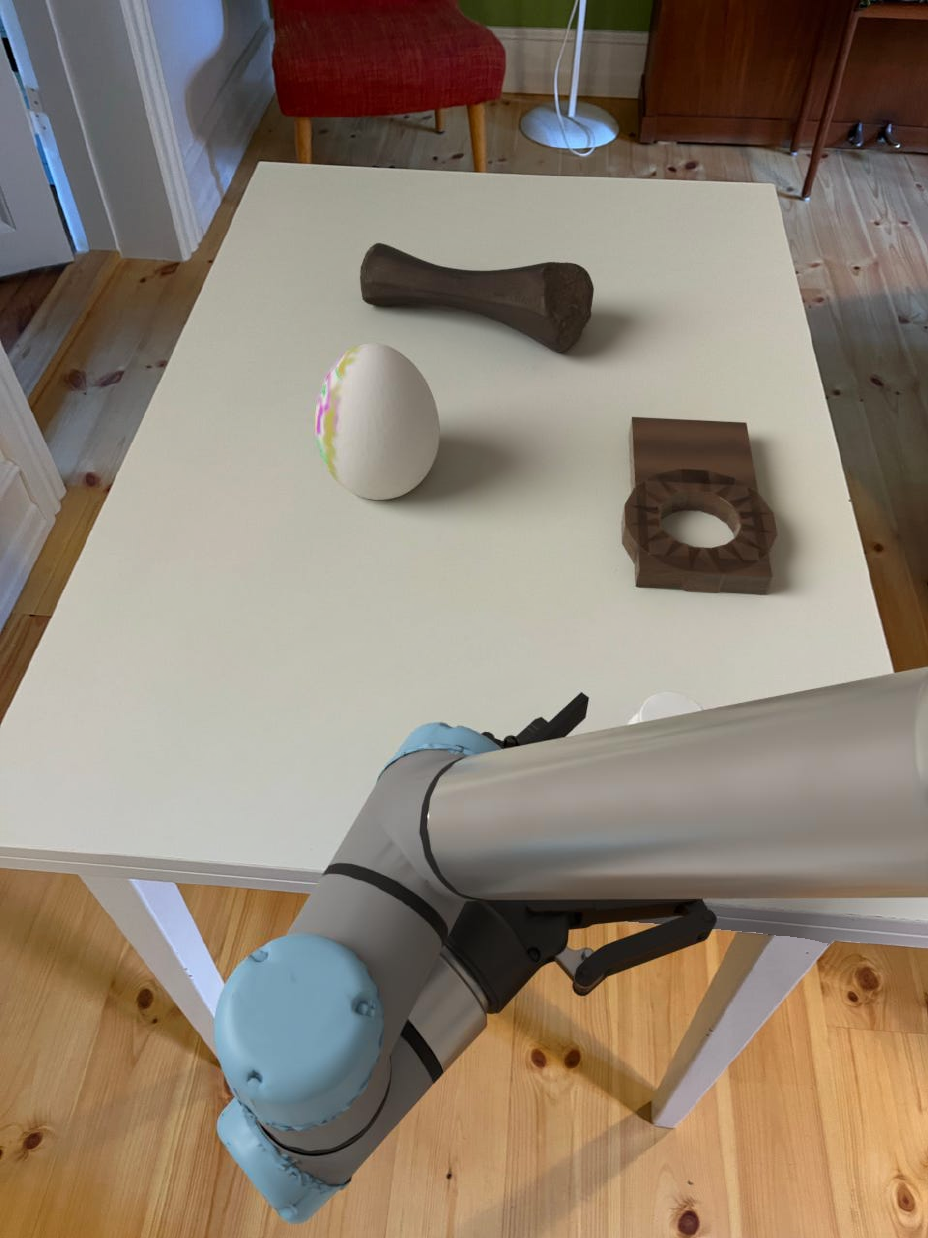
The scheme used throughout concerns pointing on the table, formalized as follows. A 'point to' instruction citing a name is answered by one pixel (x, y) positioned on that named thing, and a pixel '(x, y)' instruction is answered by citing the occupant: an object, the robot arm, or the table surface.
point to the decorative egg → (376, 422)
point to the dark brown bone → (487, 292)
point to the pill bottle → (665, 707)
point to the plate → (696, 506)
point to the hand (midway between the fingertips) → (656, 758)
